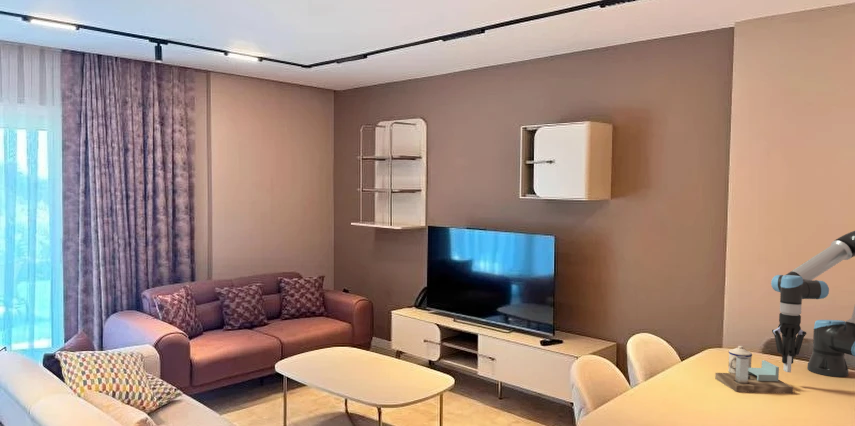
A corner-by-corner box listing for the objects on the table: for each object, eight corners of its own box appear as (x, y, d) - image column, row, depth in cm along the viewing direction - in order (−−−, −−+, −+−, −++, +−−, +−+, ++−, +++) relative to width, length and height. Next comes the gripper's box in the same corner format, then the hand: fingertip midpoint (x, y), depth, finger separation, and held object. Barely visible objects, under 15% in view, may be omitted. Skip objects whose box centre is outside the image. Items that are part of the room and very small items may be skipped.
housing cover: (764, 373, 252) (764, 360, 252) (778, 381, 242) (779, 367, 242) (744, 373, 252) (745, 359, 252) (758, 380, 242) (759, 366, 242)
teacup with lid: (735, 368, 269) (736, 342, 268) (755, 374, 261) (757, 347, 261) (719, 372, 262) (720, 345, 262) (739, 378, 254) (741, 350, 254)
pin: (742, 387, 242) (744, 355, 242) (747, 389, 239) (748, 357, 238) (734, 386, 242) (736, 355, 242) (739, 389, 239) (740, 357, 238)
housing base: (767, 380, 253) (768, 370, 252) (792, 393, 236) (793, 383, 235) (715, 378, 252) (715, 369, 252) (736, 392, 235) (736, 381, 235)
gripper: (800, 312, 250) (797, 369, 251) (768, 311, 250) (765, 368, 251) (812, 316, 243) (808, 374, 243) (779, 314, 242) (776, 373, 243)
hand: (787, 371), depth 247 cm, fingers closed
